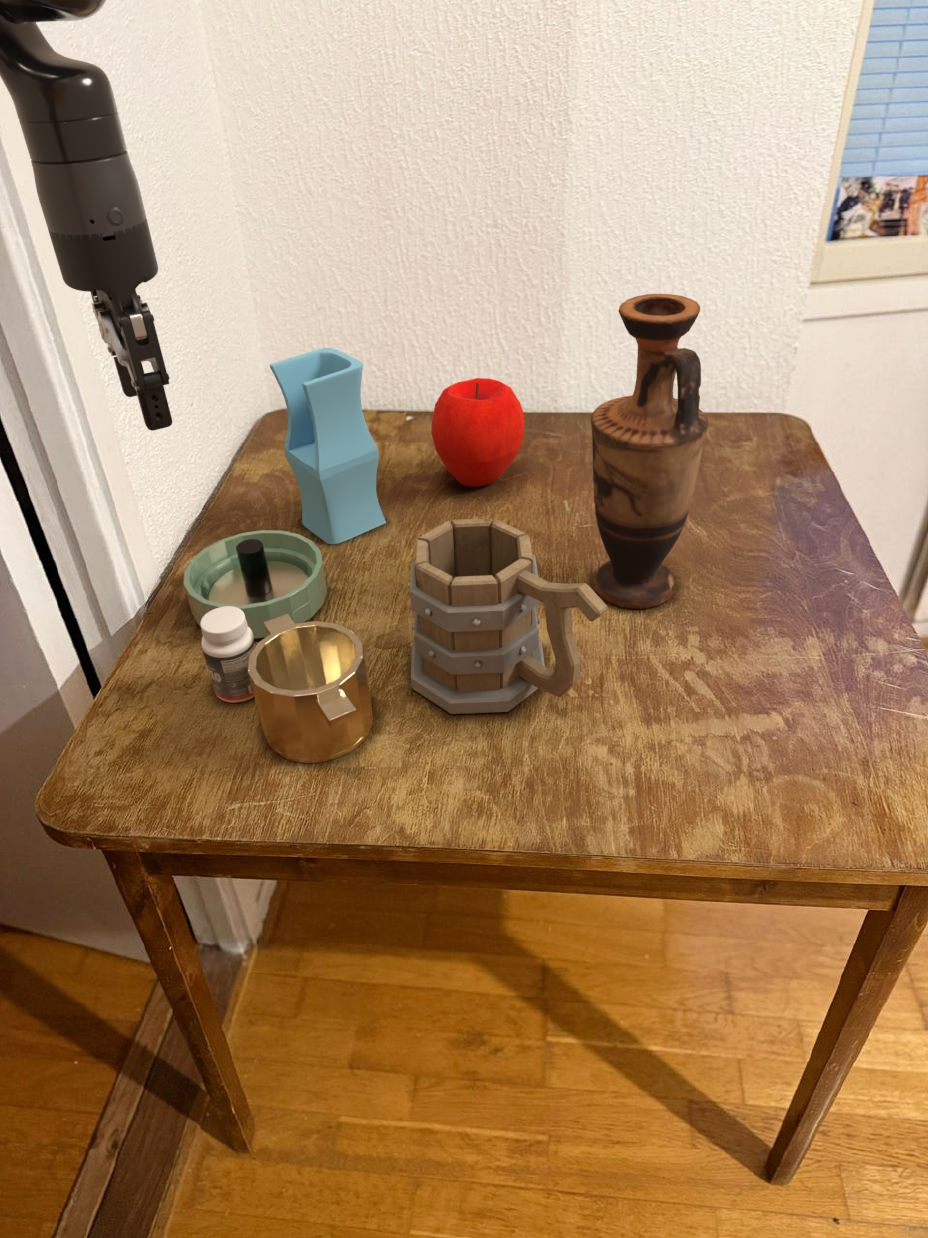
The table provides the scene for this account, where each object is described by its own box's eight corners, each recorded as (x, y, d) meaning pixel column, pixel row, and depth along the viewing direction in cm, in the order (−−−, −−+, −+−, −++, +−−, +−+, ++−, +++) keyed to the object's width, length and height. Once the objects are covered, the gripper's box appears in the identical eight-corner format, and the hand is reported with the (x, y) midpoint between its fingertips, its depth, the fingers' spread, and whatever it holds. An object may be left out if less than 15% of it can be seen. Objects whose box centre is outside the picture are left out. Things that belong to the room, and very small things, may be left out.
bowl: (217, 660, 88) (207, 625, 86) (177, 589, 98) (167, 556, 96) (348, 612, 94) (343, 577, 91) (298, 549, 104) (292, 516, 101)
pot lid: (229, 640, 90) (215, 588, 86) (198, 588, 97) (184, 538, 93) (325, 605, 94) (316, 553, 90) (289, 558, 101) (279, 508, 97)
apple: (495, 513, 108) (492, 412, 100) (416, 491, 113) (407, 393, 105) (540, 472, 116) (541, 374, 108) (464, 453, 121) (459, 358, 113)
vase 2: (562, 579, 97) (571, 303, 78) (638, 547, 101) (663, 278, 83) (628, 630, 89) (655, 338, 71) (706, 593, 94) (751, 308, 75)
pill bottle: (210, 680, 86) (190, 612, 81) (257, 665, 87) (241, 597, 82) (221, 710, 83) (200, 641, 77) (270, 694, 84) (253, 625, 79)
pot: (300, 800, 74) (284, 732, 69) (240, 695, 84) (222, 629, 79) (404, 753, 77) (396, 685, 72) (335, 658, 88) (323, 593, 83)
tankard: (385, 673, 86) (369, 543, 76) (475, 612, 93) (469, 487, 83) (544, 777, 74) (547, 639, 65) (632, 699, 81) (646, 565, 72)
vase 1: (297, 521, 109) (268, 364, 97) (351, 498, 113) (329, 345, 100) (331, 547, 104) (305, 385, 92) (386, 523, 108) (368, 364, 95)
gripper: (33, 208, 74) (89, 393, 83) (63, 245, 64) (123, 450, 73) (124, 195, 76) (168, 376, 86) (166, 228, 66) (211, 428, 76)
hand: (148, 410), depth 80 cm, fingers open, 8 cm apart
